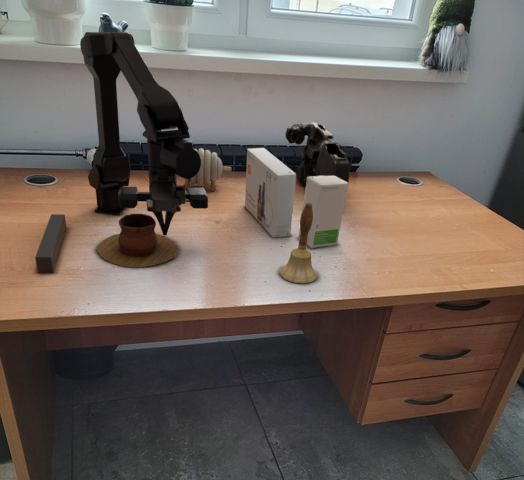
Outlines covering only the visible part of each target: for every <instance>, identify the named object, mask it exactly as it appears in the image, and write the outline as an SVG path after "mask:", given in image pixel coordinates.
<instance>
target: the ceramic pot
mask: <svg viewBox="0 0 524 480" xmlns="http://www.w3.org/2000/svg"><path fill="white" fill-rule="evenodd" d="M156 225H157V222H156V220H155V219H154V217H153V216H152V215H149V214H144V213H129V214H125V215H123V216H122V217H121V218H119V221H118V226H119V227H120V232H119V233H116V234H113V235H110V236H108V237H106V238H105V239H103V240H102V241H101V242H100V243H99V244H98V246H97V248H96V252H97V253H98V254H99V256H100V258H102V259H104V260H105V261H107V262H110V263H111V264H115V265H118V266H121V267H122V266H123V267H127V268H133V269H134V268H135V269H136V268H145V267H150V266H151V267H152V266H157V265H160V264H163V263H166V262H167V261H170V260H172V259H174V258H175V257H176V255H177V254H178V250H179V248H178V245H177V244H176V241H174V240H171V239H170V238H168V237H165V235H161V234H157V233H156V231H155V228H156Z"/></svg>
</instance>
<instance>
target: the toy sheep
mask: <svg viewBox="0 0 524 480" xmlns="http://www.w3.org/2000/svg"><path fill="white" fill-rule="evenodd" d="M193 149H194V150H196V151H197V152H198V154H199V155H200V159H201V167H200V170H199V172H198V173H197V174H196V175H195V176H194V177H193V178H190V179H184V180H185V181H184V182H185V190H188V187H191V184H192V185H196V184H197V186H198V188H203V187H209V186H210V191H213V192H214V191H216V181H217V180H219V179H220V178H221V176H222V175H223V173H231V172H232V171H233V170H232V167H231V166H226V165H224V164H223V162H222V160H221V158H220V157H219V156H218V153H217V152H214V151H213V152H211V150H210V149H204V148H202V147H200V148H199V149H197V148H193Z"/></svg>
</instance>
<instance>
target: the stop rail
mask: <svg viewBox="0 0 524 480" xmlns="http://www.w3.org/2000/svg"><path fill="white" fill-rule="evenodd" d="M67 229H68V228H67V221H66V214H62V213H61V214H55V213H53V214H50V217H49V219H48V221H47V225H46V227H45V230H44V233H43V235H42V238H41V240H40V243H39V246H38V248H37V251H36V254H35V256H34V259H35V264H36V270H37V273H39V274H46V273H47V274H49V273H54V272H55V270H56V266H57V262H58V259H59V256H60V252H61V249H62V245H63V244H64V243H63V242H64V239H65V235H66V232H67Z"/></svg>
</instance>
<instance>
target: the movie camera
mask: <svg viewBox="0 0 524 480" xmlns="http://www.w3.org/2000/svg"><path fill="white" fill-rule="evenodd" d="M306 136H307V137H306ZM285 138H286V141H287V142H288V144H291V145H292V144H296V145H302V144H304V141H305V139H306V145H303V146H302V149H303V150H302V152H301V160H302V161H301V163H300V165H298V166H297V167H296V170H295V174H296V180H297V181H298V182H301V184H302V185H303V186H304V187H306V182H307V177H310V176H336V177H338V178H340V179H342V180H344V181H346V182H348V183H349V182H350V161H349V159H348V156H347V155H348V154H347V153H346V152H345V151H343V147H342V144H340V143H339V142H335V141H332V139H333V140H334V134H332V133H331V132H330V131H329V130H327V128H326V127H325V125H323V124H321V123H317V122H308V123H307V122H306V123H305V122H299V123H298V122H296V123H294V124H291V125H289V126H288V127H287V128H286V131H285Z"/></svg>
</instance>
